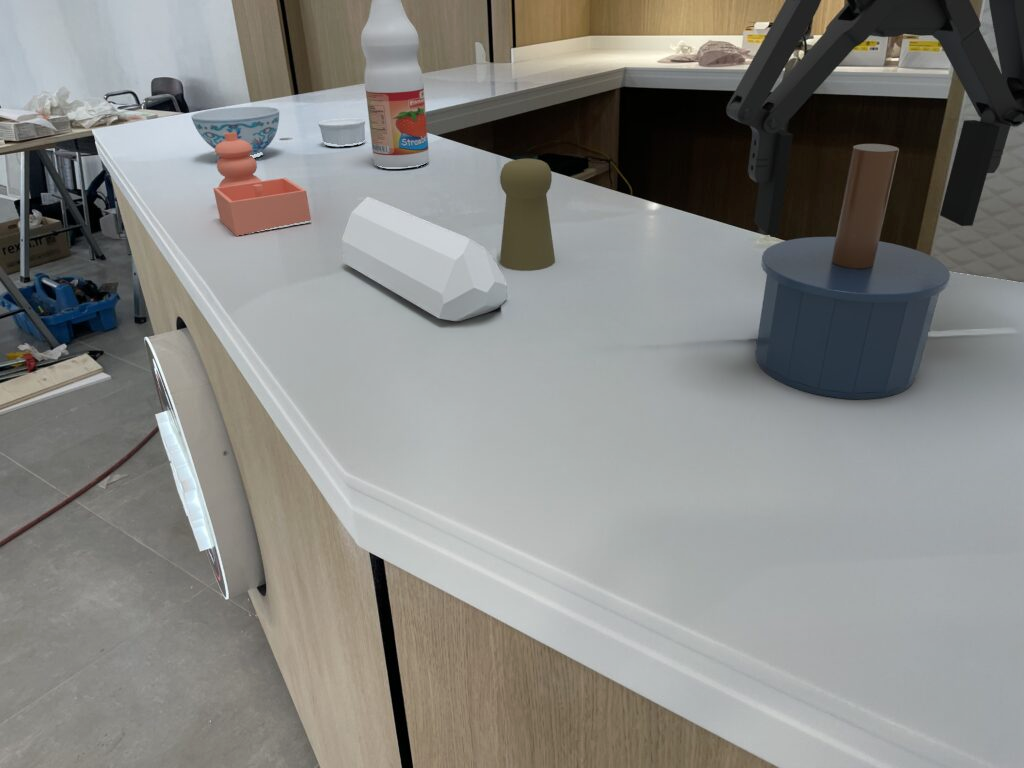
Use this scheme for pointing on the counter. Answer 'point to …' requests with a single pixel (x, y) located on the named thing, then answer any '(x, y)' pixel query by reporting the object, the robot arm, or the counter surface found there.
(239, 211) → the pottery
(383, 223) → the crystal
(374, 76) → the fruit juice
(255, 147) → the chinaware
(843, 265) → the cover
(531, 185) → the cork
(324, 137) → the ramekin
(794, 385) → the blue round pot
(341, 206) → the counter surface
